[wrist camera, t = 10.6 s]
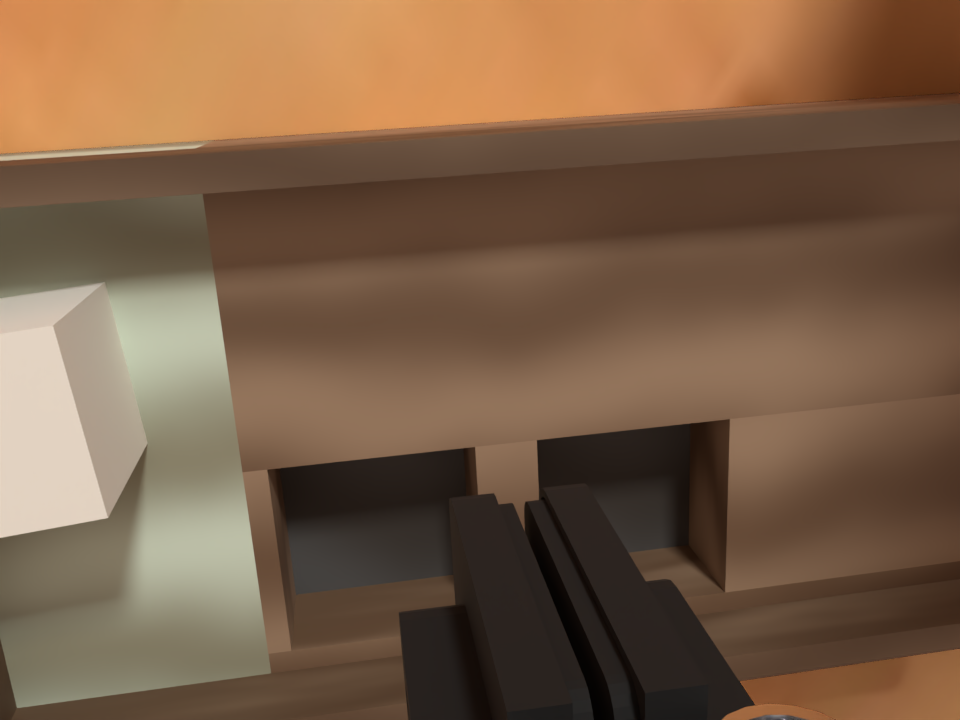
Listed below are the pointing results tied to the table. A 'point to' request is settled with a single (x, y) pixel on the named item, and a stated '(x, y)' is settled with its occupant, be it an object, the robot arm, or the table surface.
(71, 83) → the table surface
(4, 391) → the block
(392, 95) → the table surface
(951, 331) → the box
